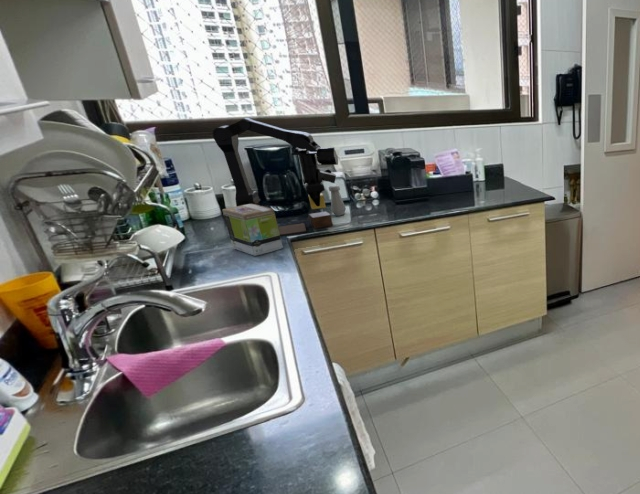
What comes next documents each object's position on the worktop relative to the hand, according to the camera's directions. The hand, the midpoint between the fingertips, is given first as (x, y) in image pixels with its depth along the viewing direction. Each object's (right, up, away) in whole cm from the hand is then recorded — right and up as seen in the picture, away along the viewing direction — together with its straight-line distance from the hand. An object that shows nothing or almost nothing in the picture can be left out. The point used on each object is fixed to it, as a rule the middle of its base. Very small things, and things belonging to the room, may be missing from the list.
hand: (317, 204), depth 188 cm
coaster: (-10, -11, -3) cm, 15 cm away
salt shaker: (0, -2, +17) cm, 18 cm away
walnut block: (0, -8, +3) cm, 9 cm away
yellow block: (0, -1, 0) cm, 1 cm away
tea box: (-8, -19, -22) cm, 30 cm away
